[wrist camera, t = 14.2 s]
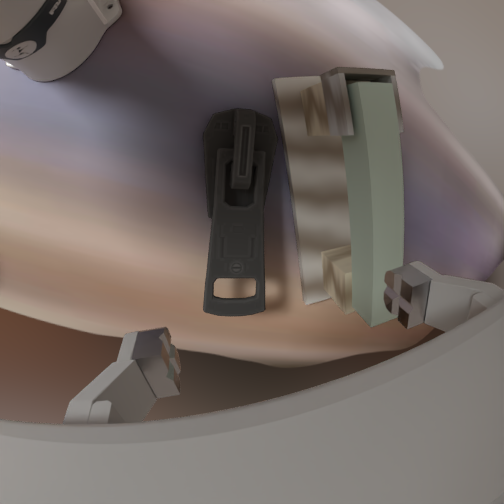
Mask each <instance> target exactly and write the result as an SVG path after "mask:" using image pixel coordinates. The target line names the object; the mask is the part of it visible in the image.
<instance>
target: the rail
mask: <svg viewBox="0 0 504 504" xmlns="http://www.w3.org/2000/svg"><path fill="white" fill-rule="evenodd" d="M346 86H347V92H348V98H349V104H350V110H351V116H352V123H353V130H354V135H346V136H341V137H342V145H343V153H344V162H345V171H346V181H347V192H348V204H349V218H350V235H351V259H352V307H353V308H354V309H355V310H356V311H357V313H358V314H359V315H360V316H361V317H362V318H363V319H364V320H365V322H366V323H367V324H368V325H369V326H370V327H374V326H376V325H379V324H382V323H384V322H387V321H390V320H392V319H395V318H397V317H398V316H397V315H393V314H391V313H390V312H389V311H388V310H387V308H386V306H385V303H384V291H385V289H386V287H387V285H386V283H385V282H384V279H385V274H386V271H389V270H392V269H395V268H398V267H401V266H403V251H404V188H403V169H402V155H401V144H400V134H399V125H398V117H397V110H396V103H395V97H394V91H393V85H392V83H378V82H356V83H352V84H349V85H346Z"/></svg>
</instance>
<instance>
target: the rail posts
mask: <svg viewBox="0 0 504 504" xmlns="http://www.w3.org/2000/svg"><path fill="white" fill-rule="evenodd" d="M356 82H378V83H392V85H393V91H394V97H395V103H396V110H397V117H398V125H399V132H404V130H403V121H402V114H401V107H400V100H399V94H398V88H397V82H396V77H395V72H394V70H384V69H371V68H350V67H337V68H334V69H332V70H330V71H328V72H326V73H324V74H322V75H320V76H304V77H287V78H275V79H273V80H272V85H273V90H274V96H275V101H276V107H277V112H278V118H279V124H280V130H281V136H282V142H283V148H284V155H285V161H286V168H287V174H288V181H289V188H290V195H291V203H292V210H293V218H294V225H295V233H296V241H297V250H298V258H299V267H300V276H301V286H302V295H303V301H304V302H305V304H306V305H308V304H312V303H315V302H319V301H322V300H326V299H329V298H332V299H333V300H334V301H335V303H336V304H337V305H338V306H339V307H340V309H341V310H342V311H343V312H344V313H345V315H346V314H349V313H352V312H355V311H356V310H355V309H354V308H353V307H352V259H351V235H350V218H349V204H348V192H347V181H346V171H345V162H344V153H343V145H342V137H341V136H346V135H354V130H353V123H352V116H351V110H350V104H349V98H348V92H347V86H346V85H349V84H352V83H356Z"/></svg>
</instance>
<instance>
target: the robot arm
mask: <svg viewBox="0 0 504 504" xmlns="http://www.w3.org/2000/svg"><path fill="white" fill-rule="evenodd" d="M110 6H113V7H112V8H111V9H108V8H109V7H110ZM121 14H122V9H121V6H120V3H119V0H0V59H2V60H4V61H5V63H6V65H7V66H8V67H10V68H13V69H19V70H20V71H22V72H23V73H24V74H25V75H26V76H27V77H28V78H30V79H32V80H35V81H40V82H46V81H52V80H55V79H58V78H60V77H63V76H65V75H66V74H68V73H70V72H71V71H73V70H74V69H76V68H77V67H78V66H79V65H80V64H82V63H83V62H84V61H85V60H86V59H87V58H88V56H89V55H90V54H91V53H92V52H93V50H94V49H95V47H96V46H97V44H98V43H99V41H100V39H101V37H102V35H103V34H104V32H105V31H106V29H107V28H109V27H110V26H111V25H112V24H113V23H114V22H115V21H116V20H117V19H118V18H119V17H120V16H121ZM384 282H385V283H386V285H387V287H386V289H385V291H384V303H385V306H386V308H387V310H388V311H389V312H390V313H391V314H393V315H397V316H398V321H399V322H400V323H401V324H402V325H403V326H404V327H405V328H406V329H409V328H411V327H414V326H416V325H419V324H421V323H425V324H427V325H430V326H432V327H435V328H438V329H440V330H442V331H445V332H446V333H444V334H442V335H440V336H438V337H436V338H434V339H432V340H430V341H428V342H426V343H424V344H422V345H420V346H417V347H415V348H413V349H411V350H409V351H407V352H405V353H402V354H400V355H398V356H396V357H393V358H391V359H389V360H386V361H384V362H382V363H379V364H376V365H374V366H372V367H369V368H367V369H364V370H362V371H359V372H356V373H354V374H351V375H348V376H345V377H343V378H340V379H337V380H334V381H331V382H328V383H325V384H322V385H319V386H316V387H313V388H310V389H306V390H303V391H299V392H296V393H293V394H289V395H285V396H282V397H278V398H275V399H271V400H267V401H263V402H259V403H254V404H250V405H245V406H241V407H236V408H232V409H226V410H221V411H216V412H210V413H205V414H199V415H193V416H186V417H180V418H171V419H163V420H154V421H143V420H144V418H145V417H146V415H147V414H148V412H149V411H150V409H151V408H152V406H153V405H154V403H155V402H156V400H157V399H156V398H162V397H168V396H174V395H179V394H180V379H179V377H178V374H179V373H180V360H179V356H178V353H177V350H176V347H175V346H174V345H172V344H171V335H170V333H169V330H168V328H167V327H160V328H155V329H149V330H142V331H136V332H131V333H127V334H125V335H124V338H123V342H122V345H121V348H120V352H119V355H118V359H117V362H114V363H112V364H111V365H110V366H109V367H107V368H106V369H105V370H104V371H103V372H102V373H101V374H100V375H99V376H97V377H96V378H95V379H94V380H93V381H92V382H91V383H90V384H89V385H88V386H86V387H85V388H84V389H83V390H82V391H81V392H80V393H79V394H78V395H77V396H75V397H74V398H73V399H72V400H71V401H70V403H69V406H68V409H67V412H66V415H65V418H64V421H63V424H48V423H32V422H22V421H12V420H4V419H0V504H504V290H503V289H501V288H500V287H498V286H497V285H495V284H494V283H488V282H483V281H477V280H471V279H466V278H460V277H455V276H449V275H444V276H442V275H441V274H439V273H438V272H436V271H434V270H433V269H431V268H430V267H428V266H426V265H425V264H423V263H422V262H420V261H414V262H412V263H409V264H406V265H404V266H401V267H398V268H395V269H392V270H389V271H386V274H385V279H384ZM142 421H143V422H142Z"/></svg>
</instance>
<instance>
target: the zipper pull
mask: <svg viewBox="0 0 504 504" xmlns="http://www.w3.org/2000/svg"><path fill="white" fill-rule="evenodd" d="M277 141H278V137H277V134H276V131H275V128H274V125H273V122H272V119H271V118H269V117H267V116H265V115H262V114H260V113H258V112H255V111H253V110H251V109H239V108H235V109H231V110H227V111H223V112H218V113H215V114H213V116H212V118H211V120H210V122H209V124H208V125H207V127H206V129H205V131H204V133H203V142H204V157H205V176H206V194H207V209H208V216H209V218H211V219H212V225H211V234H210V243H209V253H208V263H207V273H206V281H205V292H204V304H203V311H204V312H206V313H210V314H214V315H218V316H246V315H252V314H256V313H259V312H263V311H264V310H265V266H264V213H263V210H264V205H265V200H266V195H267V190H268V185H269V180H270V175H271V170H272V165H273V160H274V155H275V151H276V146H277ZM217 278H254V279H255V280H256V294H255V295H254V296H251V297H247V298H220V297H216V296H214V295H213V292H214V282H215V281H216V279H217Z"/></svg>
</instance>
